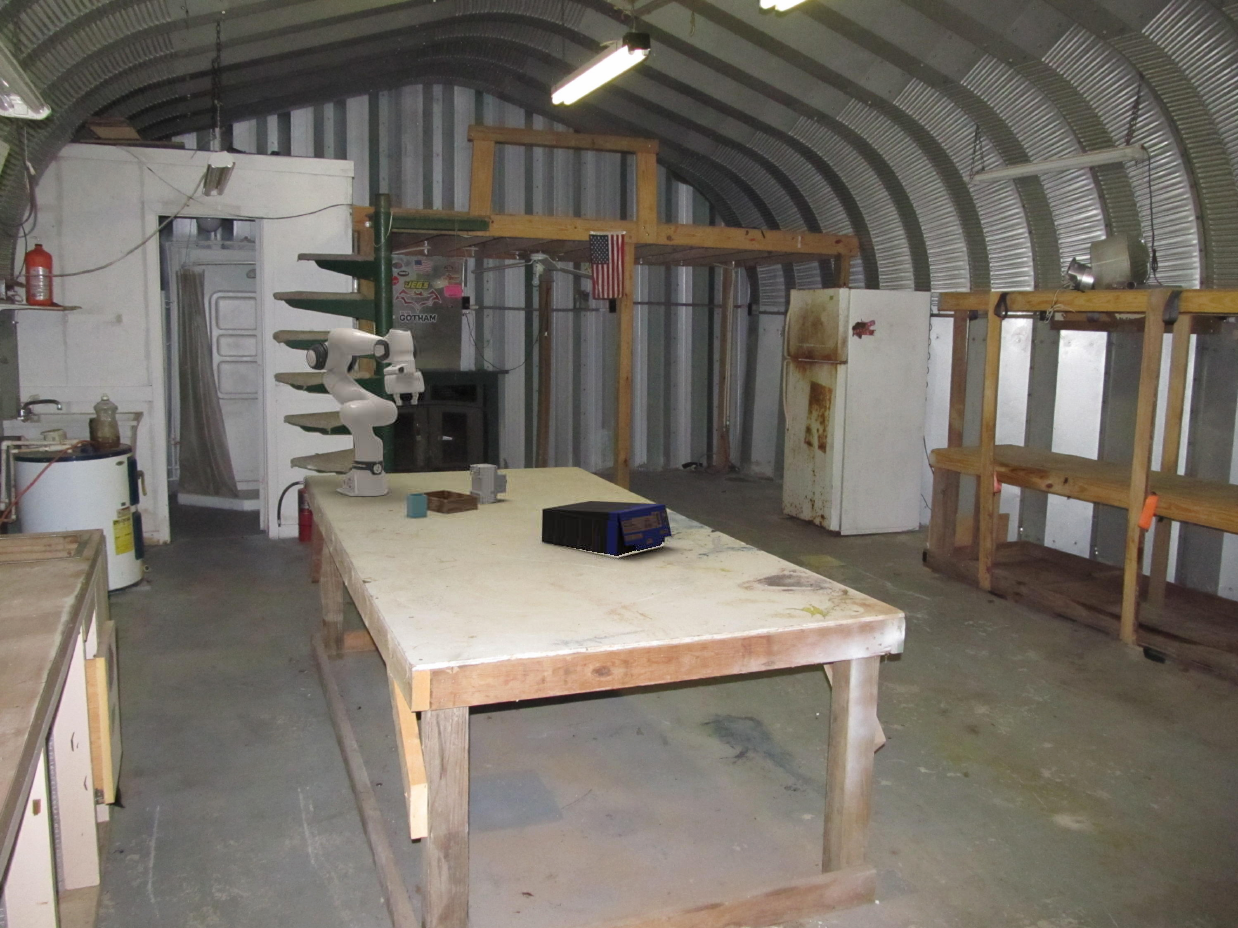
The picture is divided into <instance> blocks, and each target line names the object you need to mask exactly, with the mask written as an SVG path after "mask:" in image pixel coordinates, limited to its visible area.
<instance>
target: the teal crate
mask: <svg viewBox="0 0 1238 928" xmlns="http://www.w3.org/2000/svg"><path fill="white" fill-rule="evenodd" d="M418 493H419V494H416V493H407V494H406V516H407V517H408V518H411V519H420V518H421V517H422V518H427V517H428V510H427V495H424V494H422V493H423V492H418Z"/></svg>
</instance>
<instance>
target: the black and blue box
mask: <svg viewBox="0 0 1238 928" xmlns="http://www.w3.org/2000/svg"><path fill="white" fill-rule="evenodd" d="M541 516H542V517H541V543H543V542H544V543H543V544H548V545H552V544H554V545H553V546H557V545H558V547H561V546H566V547H571V548H576V549H582V550H586V551H592V552H597V553H604V554H610V555H614V556H619V555H622V554H625V553H629V552H632V551H636V550H637V551H640V550H644V549H648V548H652V547H656V546H660V545H661V544H662V542H665V541H666V538H668V537H672V536H673V535H672V529H671V526H670V524H671V523H670V521H669V516H668V511H667V505H666V504H665V503H647V502H645V503H644V502H625V501H624V502H621V501H604V500H603V501H600V500H588V501H583V502H582V501H581V502H575V503H570V504H564V505H558V506H552V507H545V508H542V514H541ZM665 543H666V542H665ZM566 547H565V548H566ZM571 548H570V549H571Z"/></svg>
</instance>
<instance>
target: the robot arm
mask: <svg viewBox="0 0 1238 928" xmlns="http://www.w3.org/2000/svg"><path fill="white" fill-rule="evenodd" d="M327 339H328V340H327V341H326V342H322V341H320V342H318V343H316V344H314V345H312V346H311V347H309V348H308V350H307V352H306V356H305V357H306V359H305V360H306V362H307V365H308V367H310V369H312V370H313V371H326V372H325V374H324V375H323V379H322V382H323V386H324V387H325V389H326V390H327V391H328V393H329V394H330V395H331V396H332V397H333V398H334V400H336V401H337V402H338V403H339V404H340V405H341V406H340V409H339V414H338V415H339V419H340V421H341V423H342V424H343V425H344V426H345V427H346V428H347V429H348V430H349V432H350V433H351V435H352V438H353V442H354V457H355V459H354V460H351V462H352V463H351V464H352V467H351V470H350V471H349V472H348V473H347V474H346V475H344V476H343V479H342V487H339V488H337V489H336V492H337V493H340V494H343V495H346V496H349V497H377V496H378V497H379V496H384V495H387V494H388V492H390V490H389V488H388V487H387V477H386V476H387V475H386V472H385V471H384V469H385V461H384V455H383V454H384V444H383V440H382V439H381V438H379V437H378V436H376V435H375V433H374V430H373V427H384V426H388V425H391V424H393V423H394V422H395V421H396V420H397V418H398V408H397V406H402V405H403V400H401V398H400V396H401V394H411V395H412V399H410V403H411V405H418V399H419V398H418V397H419V393H424V391H425V383H424V377H423V375H422V372H421V371H420V370H419V369H418V368H417V369H416V363H415V360H416V359H417V357H418V355H419V353H420V352H419V351H420V350H419V345H418V343H417V342H416V341H415V339H413V336H412V333H411V330H410V329H408V328H404V327H392V328H390V329H389V331H388V333H387V334H386V335H385V336H379V335H375V334H372V333H369V332H365V331H363V330H360V329H356V328H352V327H335V328H333V329H332V330H331V331H330V332H329V334H328V336H327ZM366 355H374V357H375V359H376V360H377V361H378V362H380V363H382V364H383V363H384V364H385V363H391V364H390V366H388V367H386V368H384V369H383V374H384V387H385V388H384V389H385V392H386V393H387V394H388V395H391V394H392V397H393V398H394V400H395V402H396V404H395V403H394V402H393V401H391V400H387V399H384V398H382V397H379V396H377V394H374V393H372V392H370V391H368V390H366V389H365V388H363V387H362V386H361V385H359V383H358V382H357V381H355V380H354V379H353V378H352V377H351V376H350V375H349V373H351V372H352V371H353V370H354V368H355V367H356V364H357V362H358V359H359V356H366Z"/></svg>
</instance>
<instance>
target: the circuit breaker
mask: <svg viewBox="0 0 1238 928" xmlns="http://www.w3.org/2000/svg"><path fill="white" fill-rule="evenodd" d="M469 465H470V468H469V476H470V477H471V489H470V490H469V495H474V496H478V505H480V504H481V505H486V504H485V503H490V504H492V503H491V502H497V503H498V494H504V493H507V483H508V479H507V473H501V472H499V471H498V469H499V467H498V465H494V464H489V463H479V464H469Z"/></svg>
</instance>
